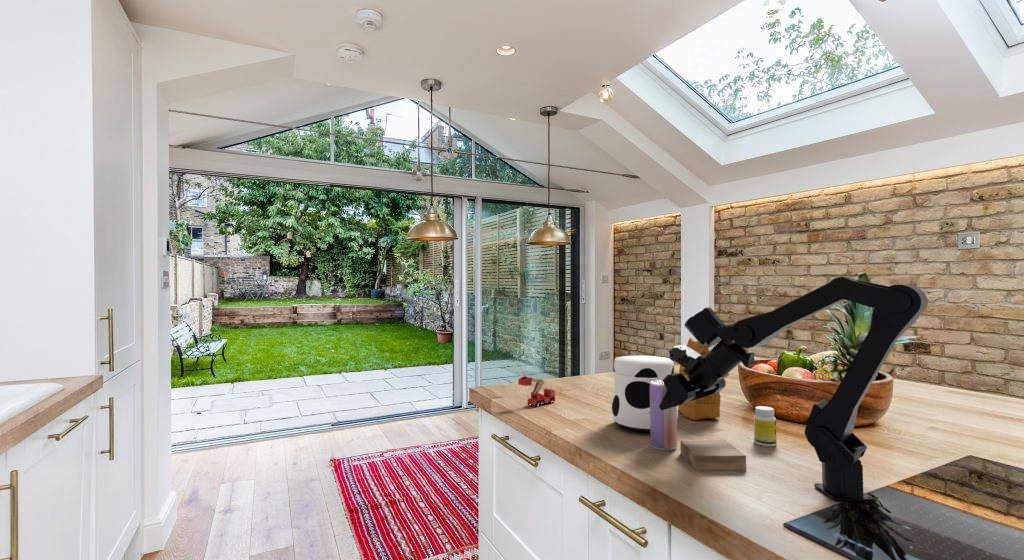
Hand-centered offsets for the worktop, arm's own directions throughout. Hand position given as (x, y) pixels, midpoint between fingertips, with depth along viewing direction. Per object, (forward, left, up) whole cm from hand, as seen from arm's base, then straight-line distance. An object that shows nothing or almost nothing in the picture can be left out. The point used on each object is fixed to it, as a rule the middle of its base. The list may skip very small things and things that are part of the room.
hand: (671, 404), depth 111 cm
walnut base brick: (-8, -6, -10) cm, 14 cm away
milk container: (+18, +2, -10) cm, 21 cm away
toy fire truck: (+42, +30, -10) cm, 53 cm away
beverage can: (+1, +1, -10) cm, 11 cm away
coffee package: (+29, -16, -10) cm, 35 cm away
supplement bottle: (+4, -23, -10) cm, 26 cm away
